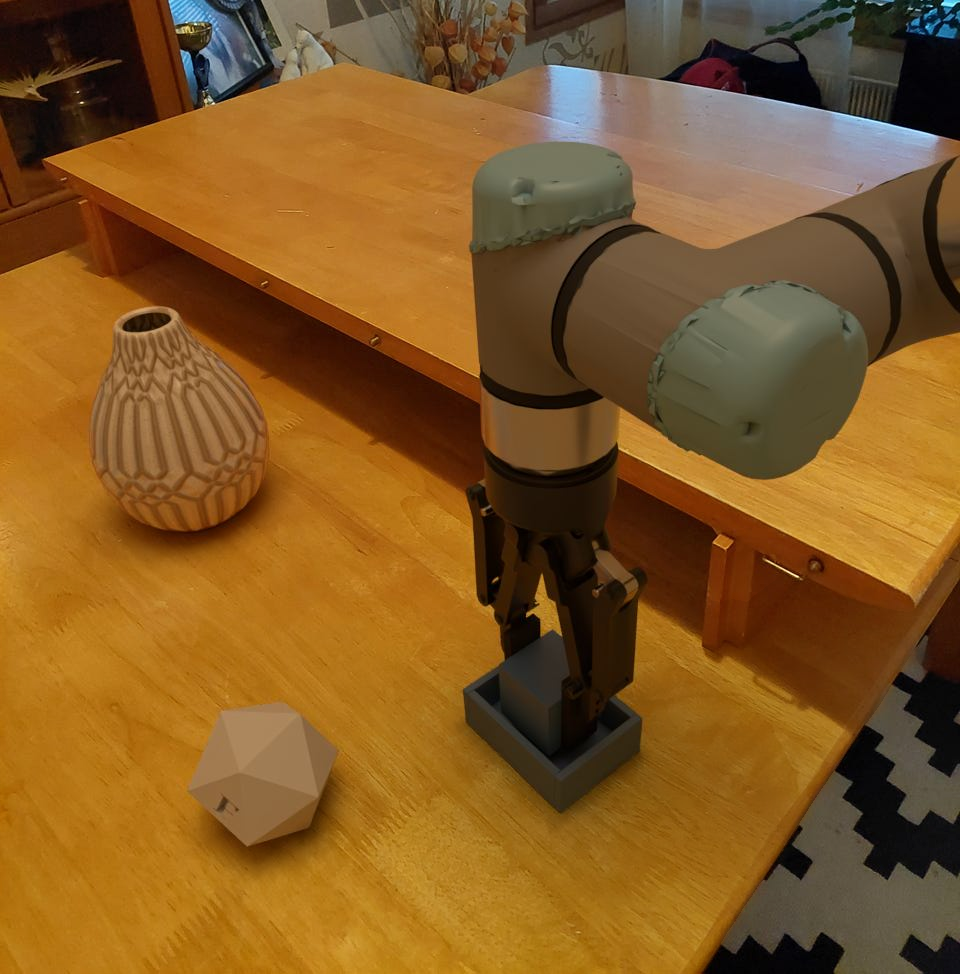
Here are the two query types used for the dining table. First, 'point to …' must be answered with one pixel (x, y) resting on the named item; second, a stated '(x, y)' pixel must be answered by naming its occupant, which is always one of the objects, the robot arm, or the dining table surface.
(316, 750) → the die
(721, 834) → the dining table surface
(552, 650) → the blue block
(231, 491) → the vase
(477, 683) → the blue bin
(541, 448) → the robot arm
